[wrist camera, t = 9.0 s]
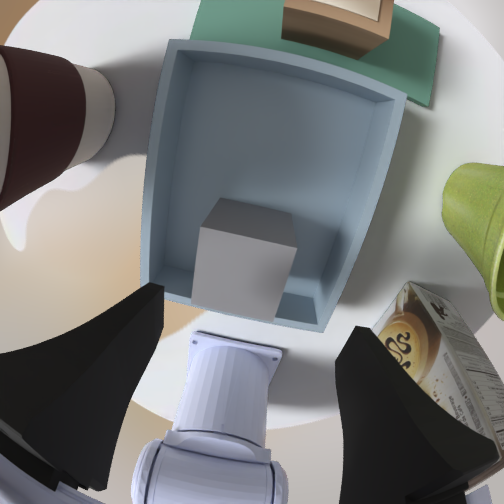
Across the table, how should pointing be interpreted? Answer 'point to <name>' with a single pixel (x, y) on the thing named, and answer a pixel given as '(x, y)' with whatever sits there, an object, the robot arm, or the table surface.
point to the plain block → (243, 259)
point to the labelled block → (338, 24)
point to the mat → (370, 65)
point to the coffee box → (446, 363)
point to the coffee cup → (47, 119)
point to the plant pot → (479, 222)
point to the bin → (265, 164)
